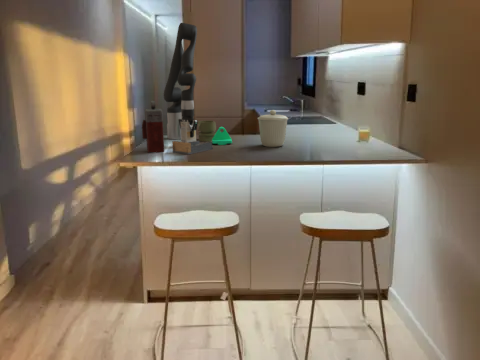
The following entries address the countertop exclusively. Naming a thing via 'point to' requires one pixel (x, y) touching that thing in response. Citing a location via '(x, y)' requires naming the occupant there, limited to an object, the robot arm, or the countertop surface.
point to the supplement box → (186, 133)
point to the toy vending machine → (153, 129)
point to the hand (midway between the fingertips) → (188, 136)
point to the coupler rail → (198, 147)
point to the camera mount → (221, 137)
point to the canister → (272, 129)
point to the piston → (206, 130)
